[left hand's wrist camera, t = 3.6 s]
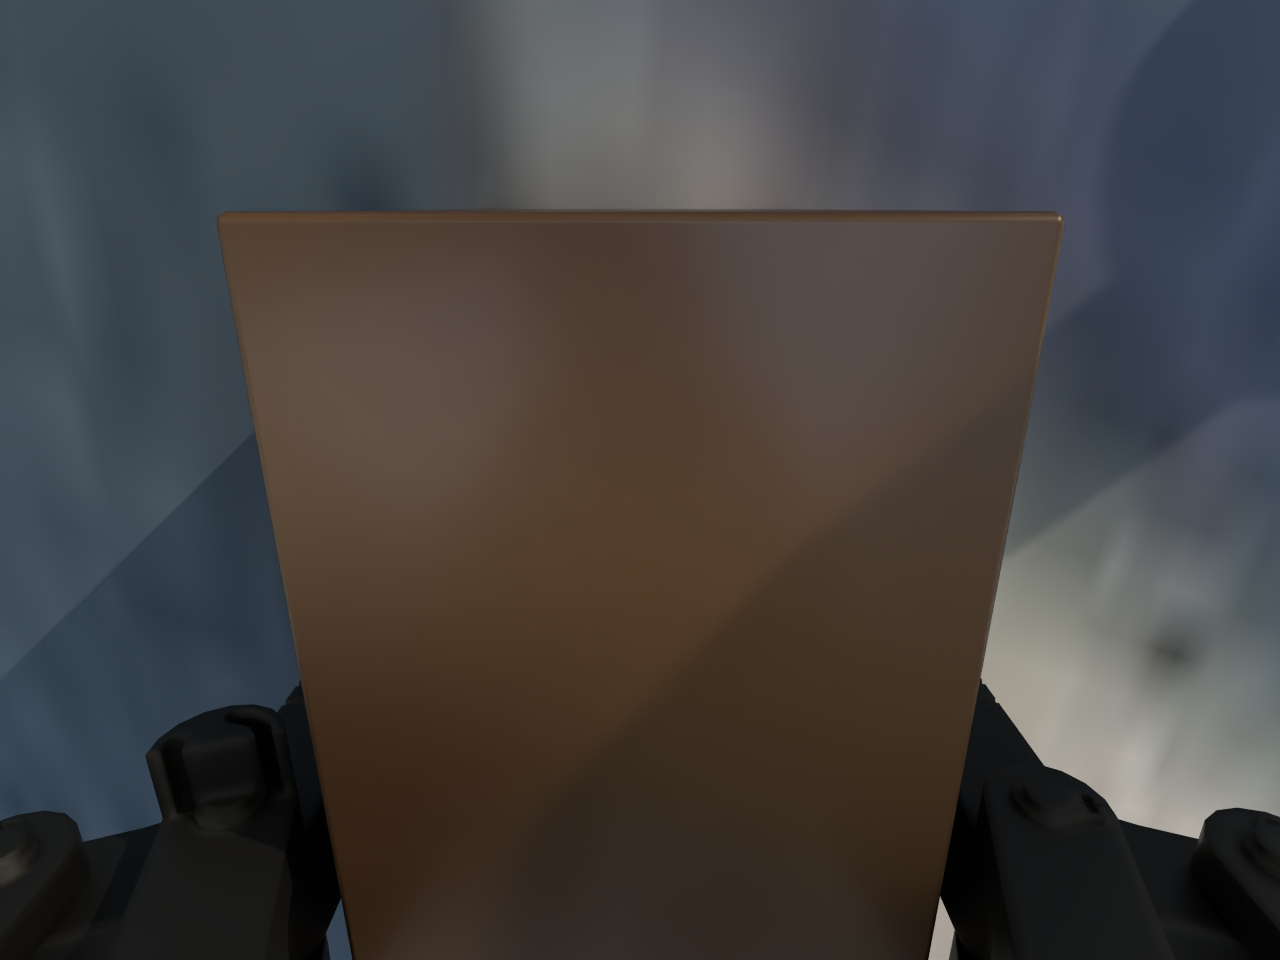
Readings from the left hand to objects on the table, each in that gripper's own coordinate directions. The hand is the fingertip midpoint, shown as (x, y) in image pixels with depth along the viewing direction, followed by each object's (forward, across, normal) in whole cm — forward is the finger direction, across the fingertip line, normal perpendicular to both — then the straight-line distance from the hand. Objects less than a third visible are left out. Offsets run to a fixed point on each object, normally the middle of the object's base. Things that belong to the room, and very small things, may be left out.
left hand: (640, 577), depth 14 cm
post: (+1, 0, -23) cm, 23 cm away
